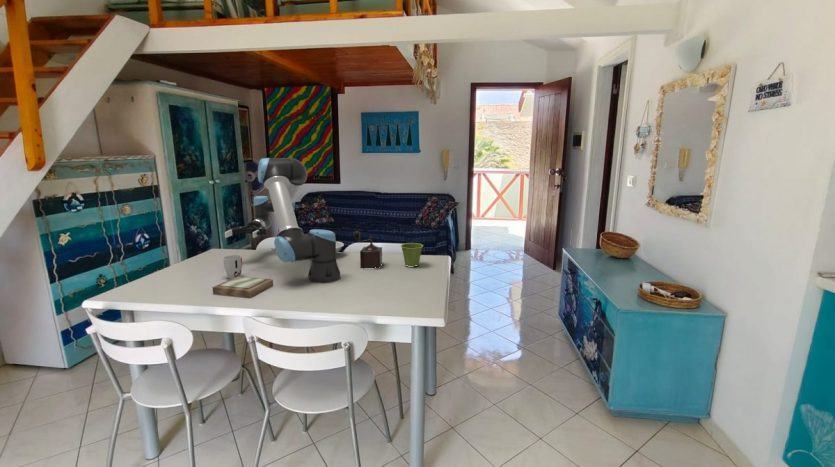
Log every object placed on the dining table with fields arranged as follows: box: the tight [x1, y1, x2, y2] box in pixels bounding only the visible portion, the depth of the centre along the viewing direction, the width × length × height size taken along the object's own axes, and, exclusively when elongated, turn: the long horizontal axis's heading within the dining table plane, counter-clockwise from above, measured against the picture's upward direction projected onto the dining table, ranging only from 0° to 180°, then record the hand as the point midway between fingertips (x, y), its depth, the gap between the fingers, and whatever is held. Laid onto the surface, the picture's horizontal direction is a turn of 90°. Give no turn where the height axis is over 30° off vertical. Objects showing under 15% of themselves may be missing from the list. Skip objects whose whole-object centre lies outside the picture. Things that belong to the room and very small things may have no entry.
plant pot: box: [400, 242, 424, 266], centre depth 209 cm, size 12×12×11 cm
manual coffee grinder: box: [352, 230, 383, 269], centre depth 208 cm, size 16×11×18 cm
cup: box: [222, 254, 243, 280], centre depth 188 cm, size 8×8×10 cm
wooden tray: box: [211, 275, 274, 299], centre depth 171 cm, size 18×16×3 cm
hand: (239, 235), depth 195 cm, fingers open, 13 cm apart
